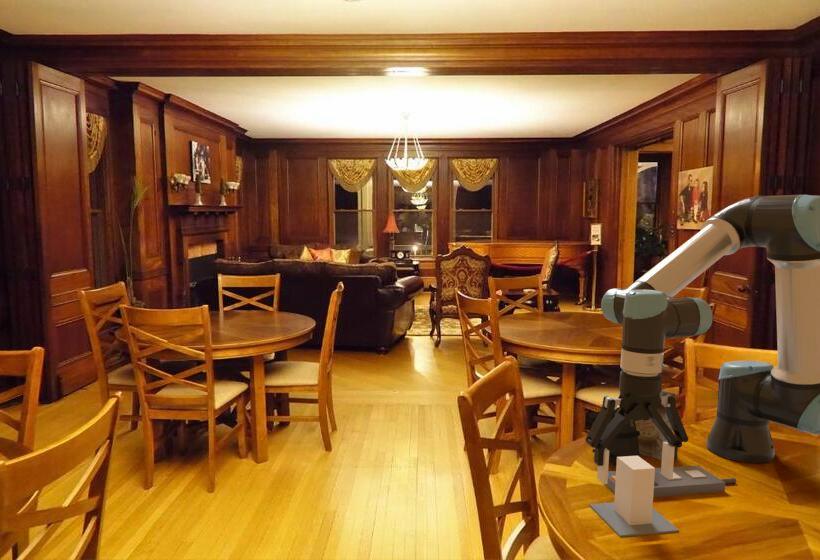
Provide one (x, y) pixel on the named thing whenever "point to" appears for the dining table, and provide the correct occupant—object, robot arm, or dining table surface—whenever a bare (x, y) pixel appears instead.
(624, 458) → the beige rectangular block
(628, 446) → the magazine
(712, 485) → the power strip
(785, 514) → the dining table surface
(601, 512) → the slate mat
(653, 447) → the coffee box
